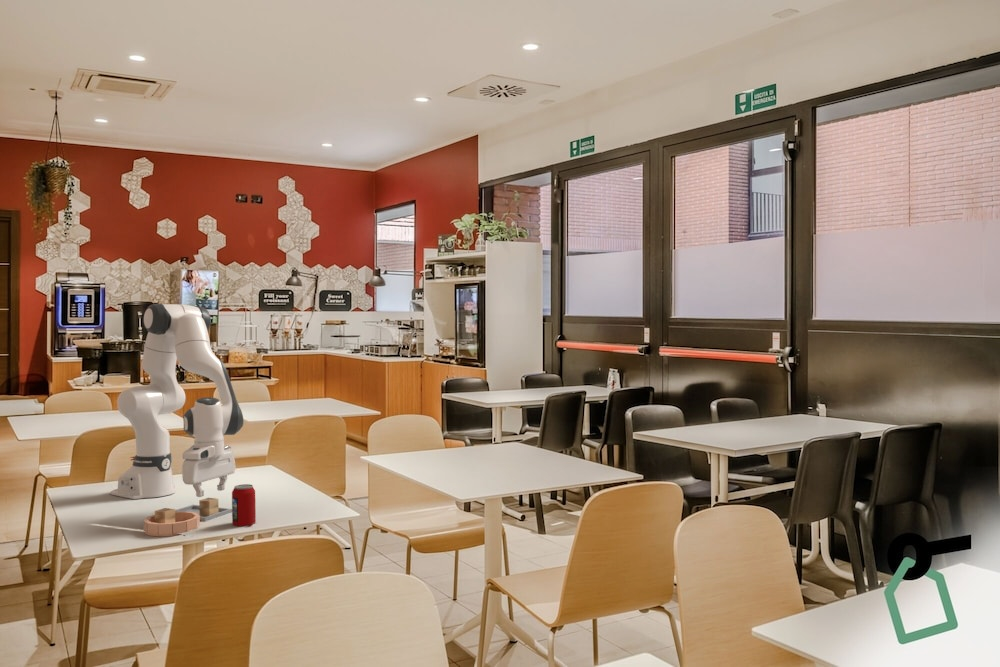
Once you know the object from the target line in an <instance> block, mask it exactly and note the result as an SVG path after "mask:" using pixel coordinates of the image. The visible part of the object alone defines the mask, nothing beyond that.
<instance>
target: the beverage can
mask: <svg viewBox="0 0 1000 667" xmlns="http://www.w3.org/2000/svg"><path fill="white" fill-rule="evenodd" d="M231 509H232V512H231V514H232V515H231V516H232V518H231V519H232V520H231V521H232V525H233V526H235V527H246V528H249V527H252V526H253V525H255V523H256V516H257V515H256V489H255V488H254V485H253V484H249V483H248V484H247V483H246V484H237V485H235V486H234V487H233V489H232V492H231Z"/></svg>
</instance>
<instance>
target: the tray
mask: <svg viewBox="0 0 1000 667" xmlns="http://www.w3.org/2000/svg"><path fill="white" fill-rule="evenodd" d="M218 508H219V513H216V514H213V515H210V516H207V517H202V516H200V522H201V521H202V522H207V521H211V520H214V519H217V518H220V517H223V516H225V515H228V514H232V508H228V507H227V508H226V507H219V506H218ZM177 511H188V512H196V513H198V514H199V515H200V510H199V505H198V504H191V505H187V506H184V507H182V508H178V509H175V512H177Z"/></svg>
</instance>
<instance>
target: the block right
mask: <svg viewBox="0 0 1000 667" xmlns="http://www.w3.org/2000/svg"><path fill="white" fill-rule="evenodd" d="M198 503H199V510H200V516H202V517H207V516H210V515H213V514H216V513H219V508H220V507H219V498H216V497H206V498H203V499H200V500H199V502H198ZM218 507H219V508H218Z"/></svg>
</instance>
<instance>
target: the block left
mask: <svg viewBox="0 0 1000 667" xmlns="http://www.w3.org/2000/svg"><path fill="white" fill-rule="evenodd" d="M175 510H176V509H175V508H168V507H164V508H160V509H157V510H154V515H155V523H174V522H175Z"/></svg>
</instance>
